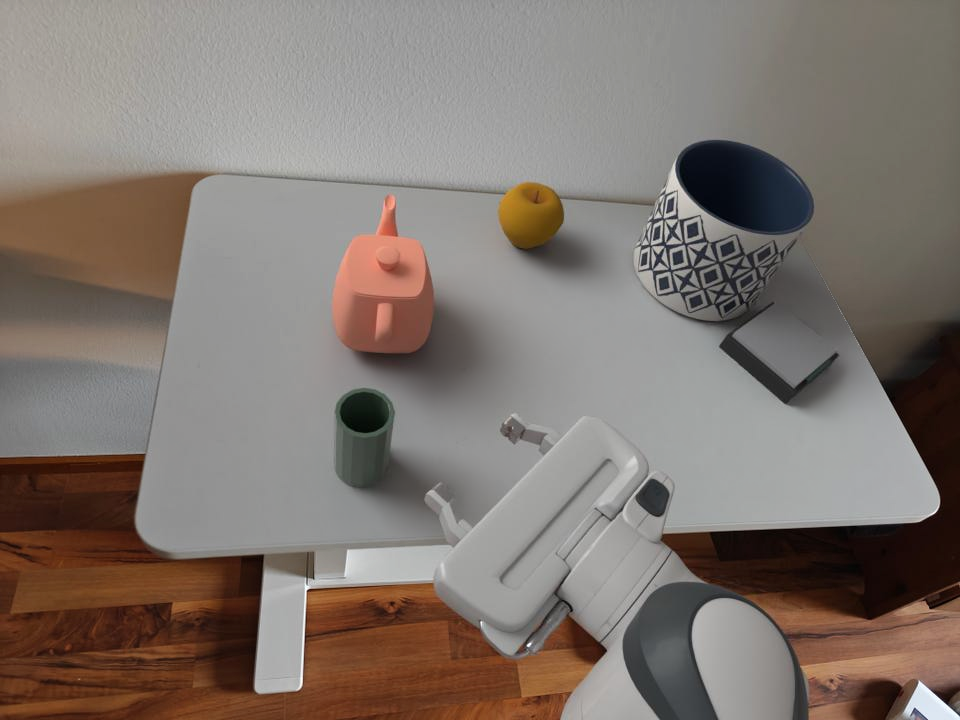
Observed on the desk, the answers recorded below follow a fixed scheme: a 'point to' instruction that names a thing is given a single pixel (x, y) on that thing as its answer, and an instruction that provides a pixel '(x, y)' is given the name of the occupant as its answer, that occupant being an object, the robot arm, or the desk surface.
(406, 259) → the teapot
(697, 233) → the planter
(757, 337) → the scale
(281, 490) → the desk surface
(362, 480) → the cup
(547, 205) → the apple
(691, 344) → the desk surface
